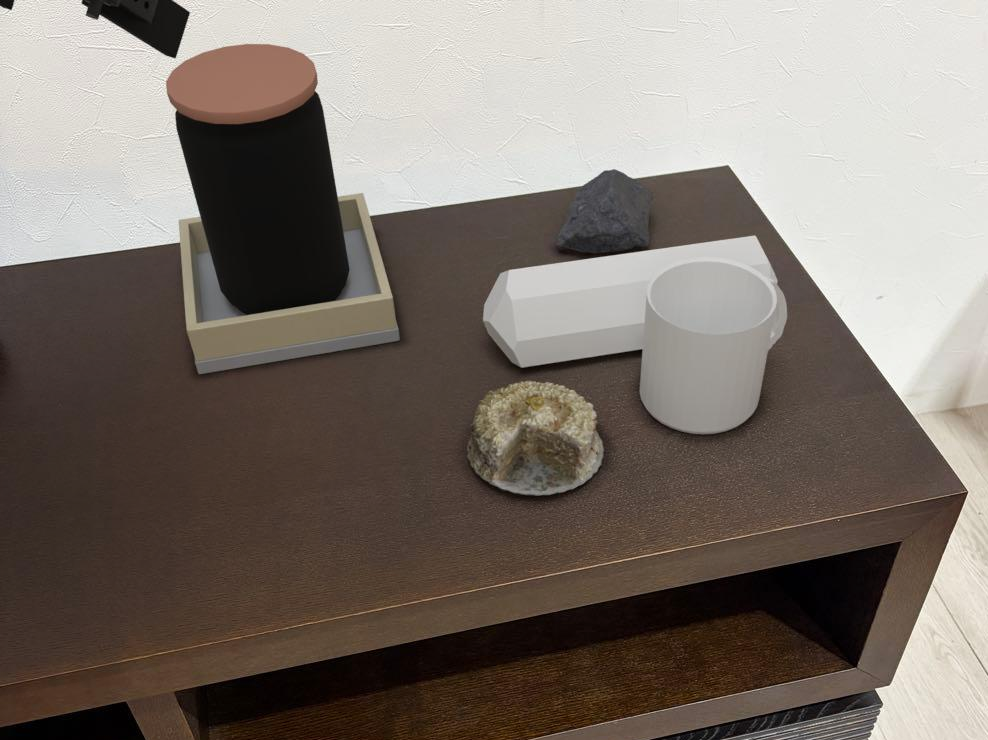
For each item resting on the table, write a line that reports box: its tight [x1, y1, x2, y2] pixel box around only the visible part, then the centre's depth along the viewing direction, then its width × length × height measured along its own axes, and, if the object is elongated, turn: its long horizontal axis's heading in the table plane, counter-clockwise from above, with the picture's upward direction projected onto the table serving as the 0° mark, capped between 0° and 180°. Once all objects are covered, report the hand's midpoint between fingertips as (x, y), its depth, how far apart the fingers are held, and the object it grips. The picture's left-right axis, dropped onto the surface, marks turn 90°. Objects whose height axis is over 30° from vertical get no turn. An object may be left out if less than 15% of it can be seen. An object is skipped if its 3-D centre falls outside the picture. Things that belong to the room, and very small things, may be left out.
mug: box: [638, 257, 788, 435], centre depth 80 cm, size 12×9×9 cm
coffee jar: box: [165, 43, 350, 315], centre depth 85 cm, size 11×11×18 cm
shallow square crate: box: [178, 192, 401, 375], centre depth 91 cm, size 16×16×4 cm
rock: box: [556, 168, 654, 255], centre depth 96 cm, size 9×6×10 cm
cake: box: [465, 380, 605, 497], centre depth 78 cm, size 10×10×5 cm
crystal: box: [482, 235, 778, 368], centre depth 87 cm, size 7×7×24 cm
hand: (93, 10), depth 66 cm, fingers open, 13 cm apart
